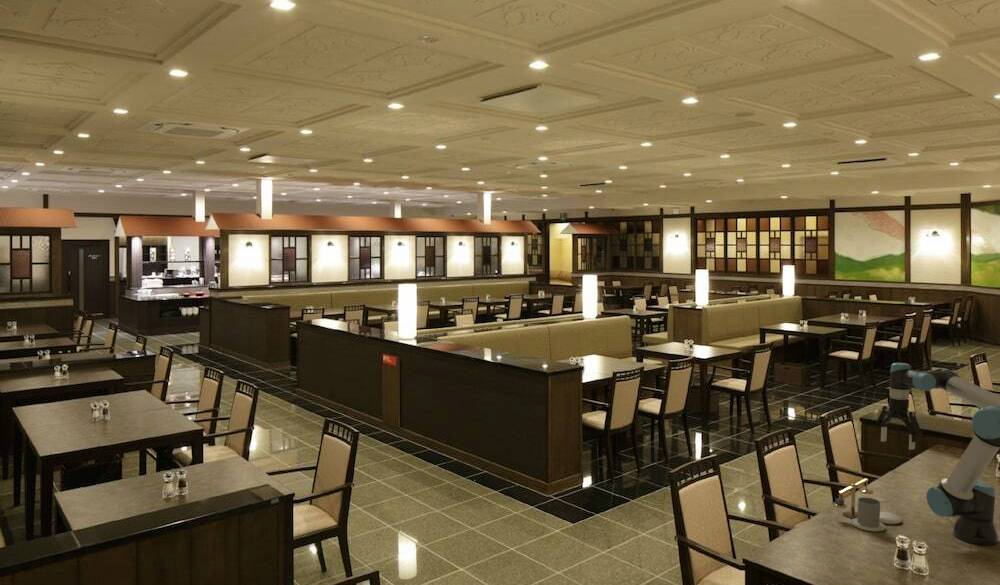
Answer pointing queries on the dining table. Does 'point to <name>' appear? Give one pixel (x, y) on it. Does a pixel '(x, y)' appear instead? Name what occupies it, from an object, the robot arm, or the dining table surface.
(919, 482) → the dining table surface
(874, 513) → the cup
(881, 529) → the dish green
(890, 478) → the dining table surface
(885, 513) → the white dome
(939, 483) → the robot arm
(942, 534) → the dining table surface
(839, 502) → the balance
